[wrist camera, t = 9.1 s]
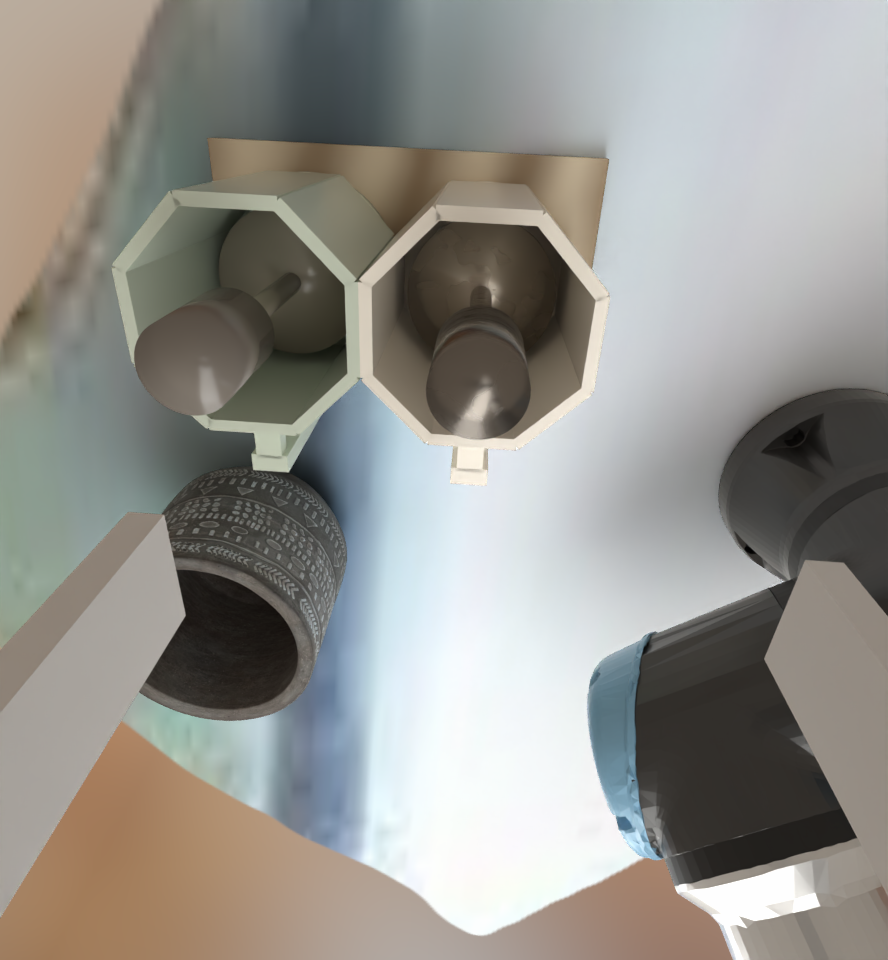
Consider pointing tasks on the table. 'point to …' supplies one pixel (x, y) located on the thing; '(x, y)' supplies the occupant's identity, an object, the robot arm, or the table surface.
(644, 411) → the table surface
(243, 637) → the planter
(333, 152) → the board
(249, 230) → the sage press
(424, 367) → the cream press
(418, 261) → the press plunger
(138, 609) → the robot arm
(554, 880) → the table surface
